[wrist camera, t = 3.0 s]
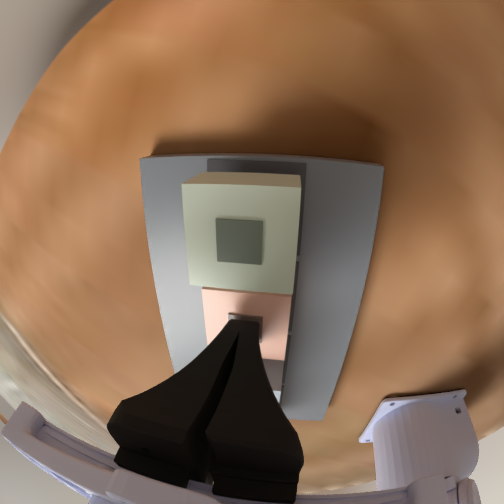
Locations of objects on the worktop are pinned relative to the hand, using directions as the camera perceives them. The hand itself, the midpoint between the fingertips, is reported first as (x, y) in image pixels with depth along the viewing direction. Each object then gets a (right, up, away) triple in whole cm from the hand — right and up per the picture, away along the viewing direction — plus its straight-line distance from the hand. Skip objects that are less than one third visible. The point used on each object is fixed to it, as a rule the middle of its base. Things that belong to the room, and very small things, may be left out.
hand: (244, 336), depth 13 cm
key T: (0, +1, +3) cm, 3 cm away
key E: (0, +5, -1) cm, 5 cm away
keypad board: (+1, 0, +5) cm, 5 cm away
